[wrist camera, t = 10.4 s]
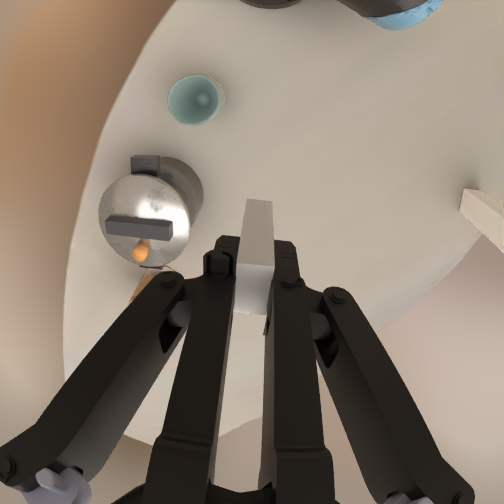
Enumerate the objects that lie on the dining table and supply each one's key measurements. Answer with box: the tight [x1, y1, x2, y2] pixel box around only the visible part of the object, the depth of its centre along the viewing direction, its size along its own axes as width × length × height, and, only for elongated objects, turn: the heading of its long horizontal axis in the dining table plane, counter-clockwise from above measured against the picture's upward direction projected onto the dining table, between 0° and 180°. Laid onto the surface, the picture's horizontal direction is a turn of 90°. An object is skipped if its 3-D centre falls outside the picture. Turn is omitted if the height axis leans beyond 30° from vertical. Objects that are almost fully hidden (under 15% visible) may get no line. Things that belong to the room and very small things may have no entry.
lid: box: [99, 174, 191, 267], centre depth 40 cm, size 16×16×3 cm
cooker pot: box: [130, 155, 203, 270], centre depth 47 cm, size 15×20×12 cm
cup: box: [168, 74, 226, 126], centre depth 38 cm, size 8×8×10 cm
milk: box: [459, 188, 504, 253], centre depth 39 cm, size 6×6×22 cm
